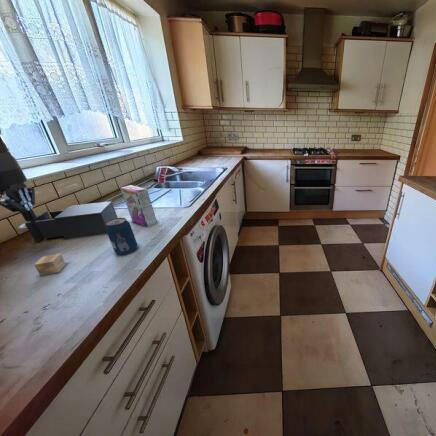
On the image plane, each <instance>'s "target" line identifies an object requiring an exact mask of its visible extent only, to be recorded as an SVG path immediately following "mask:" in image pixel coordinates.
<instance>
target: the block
mask: <svg viewBox="0 0 436 436" xmlns="http://www.w3.org/2000/svg"><path fill="white" fill-rule="evenodd" d="M66 265H67V263H66V262H65V260H64V257H63V256H62V254H61V253H55V254H49V255H42V257H40V258H39V259H38V260H37V261H36V262H35V263H34V264H33V266H34V268H35V270H36V271H37V272H38V274H39V276H41V277H43V276H48V275H53V274H59V273H60V272H61V270H63V268H64V267H65V266H66Z"/></svg>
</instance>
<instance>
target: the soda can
mask: <svg viewBox="0 0 436 436" xmlns="http://www.w3.org/2000/svg"><path fill="white" fill-rule="evenodd" d="M105 230H106V232H107V237H108V239H109V241H110V244H111V246H112V249H113V251H114V252H115V253H116V254H117V255H120V256H125V255H129V254H131V253H134V252H135V251H136V250H137V249H138V242H137V239H136V236H135V233H134V230H133V228H132V225H131V222H130V221H128V220H127V217H118V218H115V219H112V220H109V221H107V222H106V227H105Z"/></svg>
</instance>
